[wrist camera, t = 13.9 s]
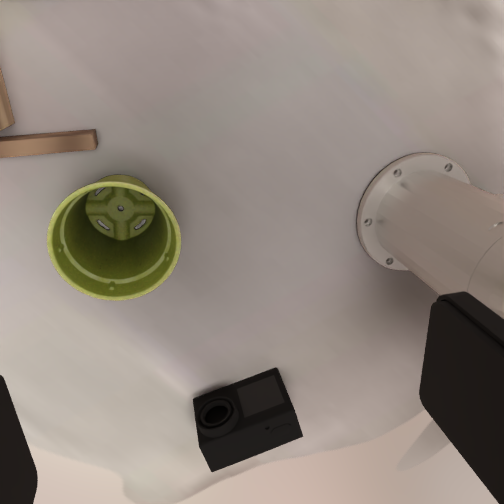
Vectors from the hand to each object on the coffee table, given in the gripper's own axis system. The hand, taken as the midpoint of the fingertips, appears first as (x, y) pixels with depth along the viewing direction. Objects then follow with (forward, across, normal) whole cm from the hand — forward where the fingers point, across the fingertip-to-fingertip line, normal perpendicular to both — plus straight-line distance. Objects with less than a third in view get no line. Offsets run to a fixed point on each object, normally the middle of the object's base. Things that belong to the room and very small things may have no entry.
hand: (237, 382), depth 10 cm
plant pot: (+32, +5, +6) cm, 33 cm away
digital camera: (+33, -4, +30) cm, 44 cm away
